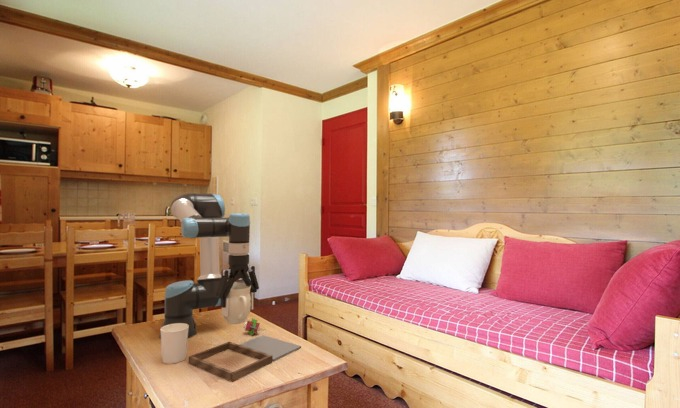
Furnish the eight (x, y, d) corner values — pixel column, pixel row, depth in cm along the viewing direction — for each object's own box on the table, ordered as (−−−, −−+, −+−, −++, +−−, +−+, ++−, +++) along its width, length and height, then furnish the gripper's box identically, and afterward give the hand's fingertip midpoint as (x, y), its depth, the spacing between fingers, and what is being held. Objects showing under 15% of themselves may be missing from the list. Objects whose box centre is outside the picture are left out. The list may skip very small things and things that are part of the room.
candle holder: (159, 366, 128) (160, 333, 128) (159, 356, 137) (160, 325, 137) (189, 361, 133) (190, 329, 133) (187, 352, 141) (187, 321, 142)
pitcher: (229, 331, 124) (230, 291, 124) (215, 318, 139) (216, 282, 139) (259, 326, 130) (260, 288, 130) (243, 313, 145) (243, 279, 145)
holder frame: (188, 363, 131) (188, 356, 131) (229, 347, 146) (229, 341, 146) (232, 381, 117) (232, 374, 118) (272, 362, 133) (272, 355, 133)
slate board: (234, 348, 146) (234, 346, 146) (263, 336, 159) (263, 335, 159) (273, 361, 134) (273, 359, 134) (301, 348, 147) (301, 346, 147)
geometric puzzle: (258, 324, 169) (249, 313, 166) (266, 328, 164) (257, 316, 161) (247, 336, 165) (238, 325, 162) (255, 340, 160) (246, 328, 157)
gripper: (218, 258, 123) (217, 322, 123) (268, 252, 142) (268, 307, 142) (205, 256, 128) (204, 318, 127) (256, 250, 147) (255, 304, 146)
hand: (238, 312), depth 135 cm, fingers closed on pitcher, 11 cm apart
